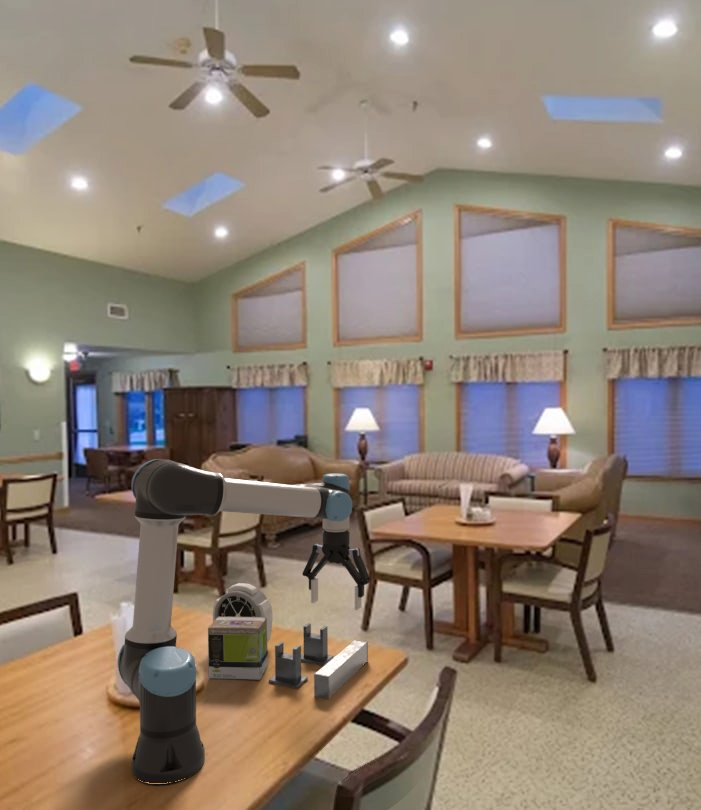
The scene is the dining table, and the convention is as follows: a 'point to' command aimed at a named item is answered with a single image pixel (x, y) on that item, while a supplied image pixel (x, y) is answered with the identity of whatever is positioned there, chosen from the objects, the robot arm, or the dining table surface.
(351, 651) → the rail
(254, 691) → the dining table surface
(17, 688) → the dining table surface
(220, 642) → the tea box
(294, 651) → the post
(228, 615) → the alarm clock
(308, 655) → the post
